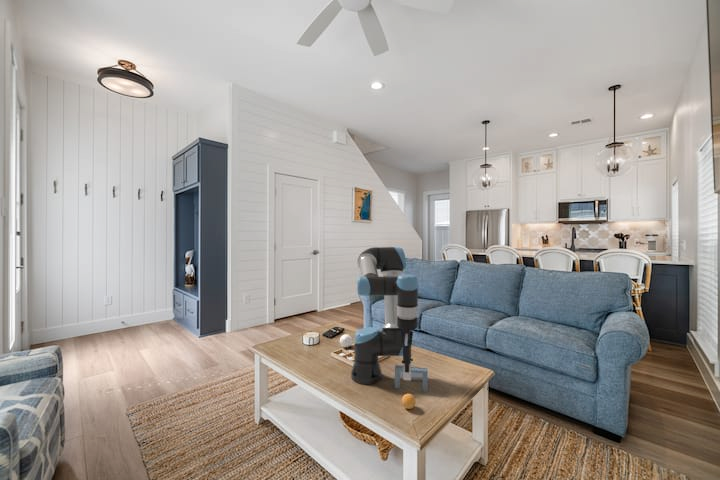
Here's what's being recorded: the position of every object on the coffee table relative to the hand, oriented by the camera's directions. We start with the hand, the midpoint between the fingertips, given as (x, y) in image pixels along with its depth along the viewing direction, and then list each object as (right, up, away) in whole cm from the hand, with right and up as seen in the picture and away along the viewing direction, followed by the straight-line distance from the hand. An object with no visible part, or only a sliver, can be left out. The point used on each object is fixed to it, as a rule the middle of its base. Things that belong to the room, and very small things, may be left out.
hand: (407, 379), depth 116 cm
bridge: (+6, -16, +25) cm, 30 cm away
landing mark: (+9, -15, +39) cm, 43 cm away
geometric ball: (-26, -14, +75) cm, 80 cm away
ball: (+2, -13, +10) cm, 17 cm away
